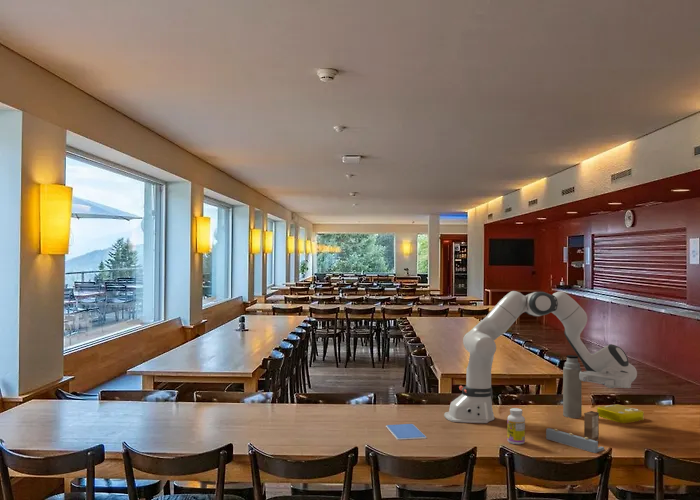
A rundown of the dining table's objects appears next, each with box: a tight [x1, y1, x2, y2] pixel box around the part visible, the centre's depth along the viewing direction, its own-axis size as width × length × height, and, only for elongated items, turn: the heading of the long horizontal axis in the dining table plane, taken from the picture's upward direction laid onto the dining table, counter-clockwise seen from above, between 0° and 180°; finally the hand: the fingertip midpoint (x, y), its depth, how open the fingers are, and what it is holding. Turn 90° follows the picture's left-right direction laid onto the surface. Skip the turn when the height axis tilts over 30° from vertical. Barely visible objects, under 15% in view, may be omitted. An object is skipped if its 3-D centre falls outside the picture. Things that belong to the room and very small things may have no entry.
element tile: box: [596, 404, 645, 424], centre depth 262 cm, size 15×15×5 cm
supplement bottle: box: [506, 407, 526, 445], centre depth 223 cm, size 7×7×13 cm
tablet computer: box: [385, 423, 428, 441], centre depth 235 cm, size 19×13×1 cm, turn 11°
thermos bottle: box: [562, 354, 583, 419], centre depth 264 cm, size 8×8×28 cm
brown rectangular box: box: [583, 410, 600, 442], centre depth 227 cm, size 6×3×11 cm, turn 128°
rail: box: [545, 427, 605, 454], centre depth 222 cm, size 6×21×5 cm, turn 36°
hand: (593, 381), depth 238 cm, fingers open, 8 cm apart
